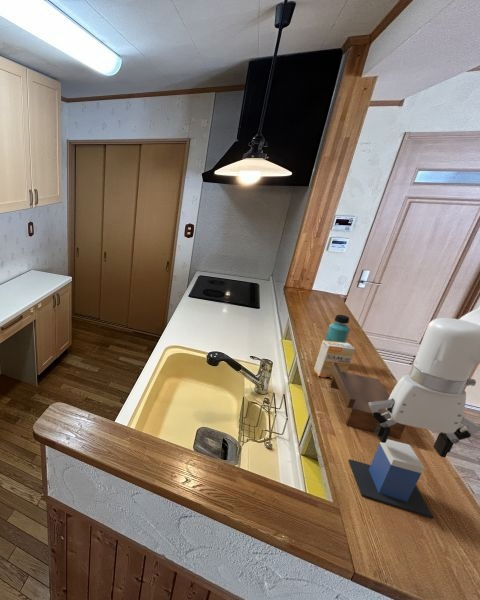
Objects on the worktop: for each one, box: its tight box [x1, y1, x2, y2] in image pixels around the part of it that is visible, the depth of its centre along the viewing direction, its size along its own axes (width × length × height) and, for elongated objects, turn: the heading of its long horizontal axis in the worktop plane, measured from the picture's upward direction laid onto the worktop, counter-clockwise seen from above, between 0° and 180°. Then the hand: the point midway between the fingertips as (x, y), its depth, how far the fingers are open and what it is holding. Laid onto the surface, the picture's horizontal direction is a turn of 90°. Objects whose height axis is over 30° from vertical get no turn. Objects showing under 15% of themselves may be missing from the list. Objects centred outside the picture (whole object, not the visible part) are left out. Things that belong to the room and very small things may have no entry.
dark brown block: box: [329, 362, 407, 440], centre depth 100 cm, size 13×22×9 cm, turn 154°
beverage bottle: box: [324, 314, 351, 343], centre depth 123 cm, size 6×7×20 cm
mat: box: [348, 458, 434, 520], centre depth 75 cm, size 12×11×1 cm
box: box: [369, 438, 425, 502], centre depth 73 cm, size 5×7×10 cm
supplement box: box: [313, 339, 356, 379], centre depth 116 cm, size 8×5×13 cm, turn 76°
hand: (409, 445), depth 71 cm, fingers open, 9 cm apart
